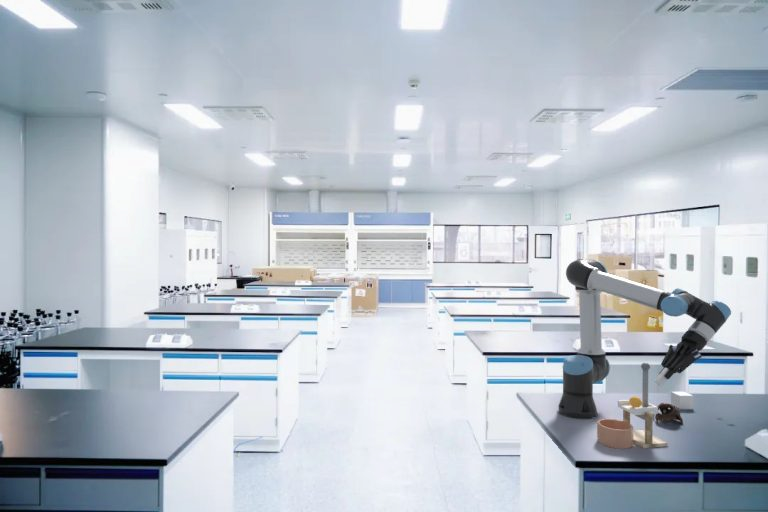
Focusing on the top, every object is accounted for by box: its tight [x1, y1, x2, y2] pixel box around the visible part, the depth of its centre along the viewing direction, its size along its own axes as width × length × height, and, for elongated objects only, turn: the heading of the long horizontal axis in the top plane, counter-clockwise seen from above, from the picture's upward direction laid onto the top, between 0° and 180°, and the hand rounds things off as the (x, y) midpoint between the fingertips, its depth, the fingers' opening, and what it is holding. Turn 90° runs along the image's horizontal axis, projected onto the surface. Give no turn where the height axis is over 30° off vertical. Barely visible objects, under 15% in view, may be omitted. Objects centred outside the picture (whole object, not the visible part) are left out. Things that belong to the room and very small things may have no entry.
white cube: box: [670, 391, 694, 410], centre depth 210 cm, size 6×6×6 cm
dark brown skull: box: [655, 402, 684, 425], centre depth 192 cm, size 12×10×8 cm
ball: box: [628, 396, 642, 408], centre depth 172 cm, size 4×4×4 cm
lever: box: [617, 362, 659, 422], centre depth 172 cm, size 9×9×20 cm
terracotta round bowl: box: [596, 418, 634, 450], centre depth 170 cm, size 11×11×6 cm
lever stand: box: [622, 409, 668, 449], centre depth 172 cm, size 10×12×12 cm
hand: (657, 383), depth 173 cm, fingers closed
